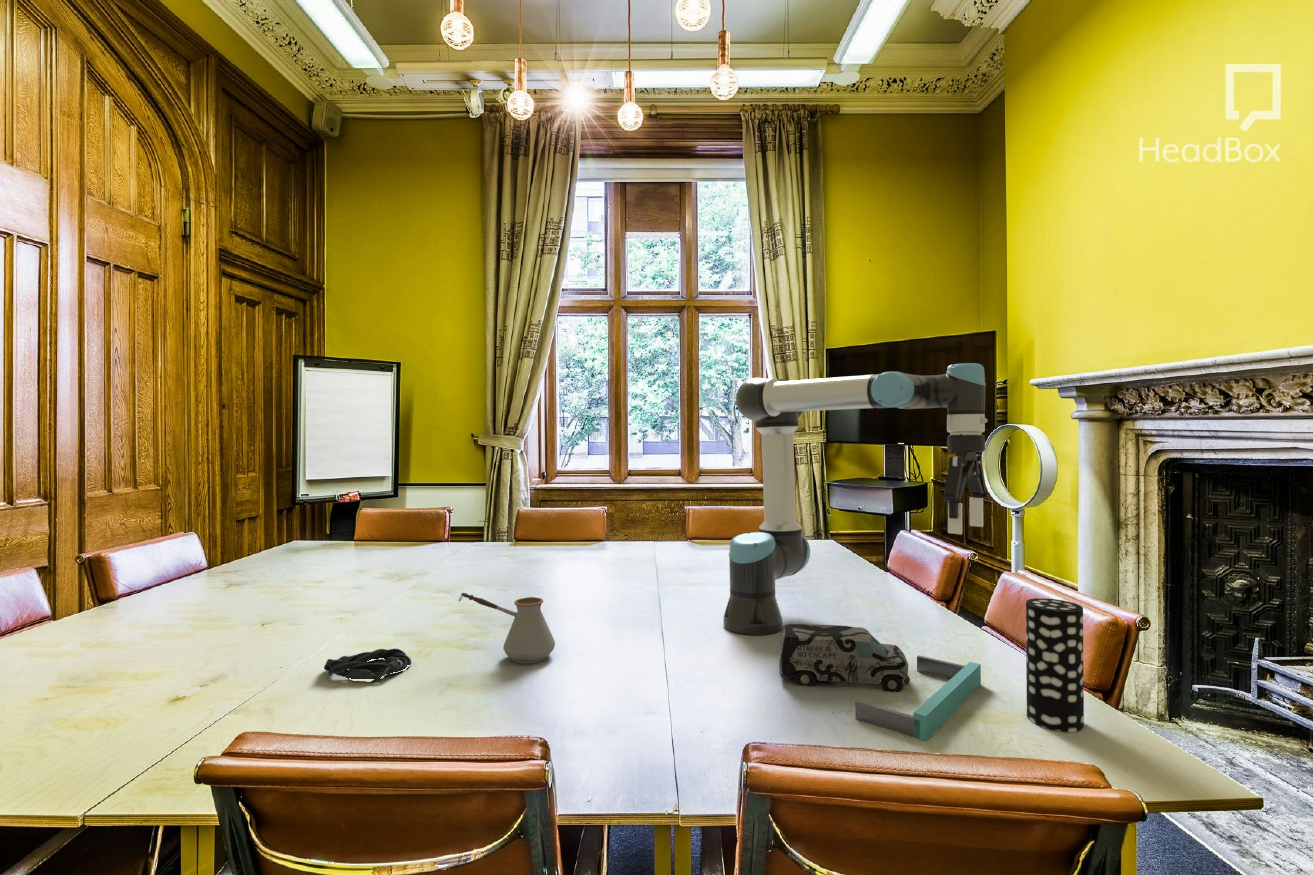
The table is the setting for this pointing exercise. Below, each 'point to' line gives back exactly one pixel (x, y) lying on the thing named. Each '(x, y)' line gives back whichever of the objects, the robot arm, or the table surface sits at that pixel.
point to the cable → (368, 664)
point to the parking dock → (935, 707)
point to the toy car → (840, 657)
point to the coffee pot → (524, 630)
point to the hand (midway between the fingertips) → (966, 529)
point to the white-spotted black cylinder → (1055, 664)
